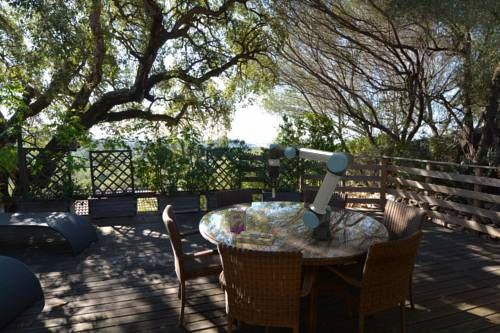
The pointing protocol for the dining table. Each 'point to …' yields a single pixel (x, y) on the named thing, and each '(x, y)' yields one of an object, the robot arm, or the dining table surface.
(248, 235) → the key sage
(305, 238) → the dining table surface
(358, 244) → the dining table surface
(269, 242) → the keypad
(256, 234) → the key slate
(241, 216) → the candy bar box
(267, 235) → the key charcoal
